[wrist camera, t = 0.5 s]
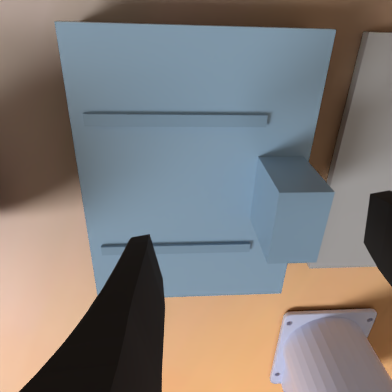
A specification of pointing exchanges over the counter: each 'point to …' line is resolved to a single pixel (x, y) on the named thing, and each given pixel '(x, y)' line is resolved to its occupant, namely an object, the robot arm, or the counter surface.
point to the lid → (199, 148)
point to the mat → (360, 155)
